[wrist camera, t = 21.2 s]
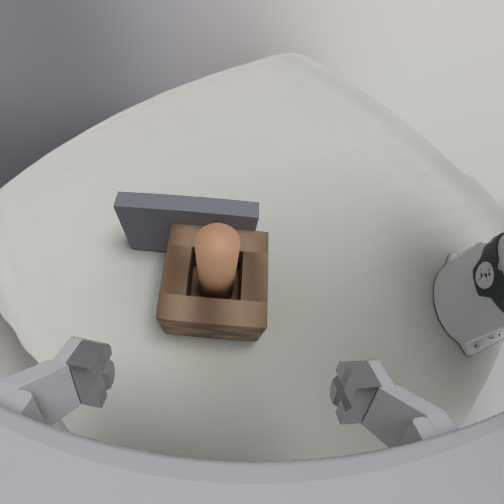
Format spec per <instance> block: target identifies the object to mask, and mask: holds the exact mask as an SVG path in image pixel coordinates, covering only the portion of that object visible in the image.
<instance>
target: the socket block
mask: <svg viewBox="0 0 504 504" xmlns="http://www.w3.org/2000/svg"><path fill="white" fill-rule="evenodd" d="M202 227H204V226H195V225H183V224H172V225H171V230H170V236H169V241H168V246H167V252H166V257H165V263H164V269H163V275H162V281H161V287H160V294H159V301H158V308H157V315H156V319H157V320H158V322H159V323H160V325H161V326H162V328H163V329H164V331H165V332H166V333H170V334H179V335H188V336H198V337H209V338H221V339H234V340H250V341H257V340H258V339H259V338H260V336H261V335H262V334H263V332H264V331H265V330H266V328H267V292H268V232H261V231H250V230H240V229H235V231H236V232H237V233H238V235H239V237H240V250H239V256H238V262H237V269H236V275H235V282H234V288H233V294H232V296H231V298H230V299H218V298H207V297H202V296H201V294H200V289H199V281H198V272H197V263H196V254H195V244H194V241H195V237H196V234H197V233H198V231H199V230H200V229H201V228H202Z"/></svg>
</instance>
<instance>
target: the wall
mask: <svg viewBox="0 0 504 504" xmlns="http://www.w3.org/2000/svg"><path fill="white" fill-rule="evenodd" d="M114 209H115V211H116V213H117V216H118V218H119V220H120V223H121V225H122V227H123V230H124V232H125V234H126V237H127V239H128V241H129V243H130V245H131V248H132V249H141V250H152V251H162V252H167V246H168V241H169V236H170V230H171V225H172V224H183V225H195V226H206V225H208V224H211V223H223V224H227V225H229V226H231V227H232V228H233V229H240V230H250V231H255V230H256V226H257V222H258V218H259V203H257V202H248V201H238V200H227V199H216V198H205V197H192V196H179V195H165V194H150V193H132V192H118V194H117V197H116V200H115V203H114Z"/></svg>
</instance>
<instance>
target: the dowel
mask: <svg viewBox="0 0 504 504" xmlns="http://www.w3.org/2000/svg"><path fill="white" fill-rule="evenodd" d="M194 244H195V254H196V263H197V272H198V281H199V289H200V294H201V296H202V297H207V298H218V299H230V298H231V296H232V294H233V288H234V282H235V275H236V269H237V262H238V256H239V250H240V237H239V235H238V233H237V232H236V231H235V229H233V228H232V227H231V226H229V225H227V224H223V223H211V224H208V225H206V226H204V227H202V228H201V229H200V230H199V231H198V233H197V234H196V237H195V241H194Z"/></svg>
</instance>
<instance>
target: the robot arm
mask: <svg viewBox="0 0 504 504" xmlns="http://www.w3.org/2000/svg"><path fill="white" fill-rule="evenodd" d="M434 302H435V307H436V311H437V314H438V317H439V319H440V321H441V323H442V325H443V327H444V328H445V330H446V331H447V332H448V334H449V335H450V336H451V337H452V338H454V339H455V340H456V341H457V342H458V343H459V344H460V345H461V347H462V349H463V351H464V352H465V354H466V355H467V356H472V355H474V354H476V353H478V352H480V351H481V350H483V349H485V348H487V347H489V346H491V345H492V344H494V343H496V342H498V341H500V340H501V339H503V338H504V233H501V234H499V235H498V236H495V237H494V238H493V239H491V240H490V242H489V243H487V244H485V243H482V242H479V243H477V244H475V245H474V246H472V247H471V248H469V249H468V250H466V251H464V252H463V253H461V254H459V253H456V252H453V253H451V254H449V256H448V259H447V263H446V265H445V266H444V267H443V268H442V269H441V271H440V272H439V273H438V275H437V277H436V280H435V285H434ZM111 354H112V352H111V347H110V345H109V344H106V343H102V342H97V341H92V340H88V339H83V338H78V337H74V336H73V337H70V338H69V340H68V341H67V342H66V343H65V345H64V346H63V347H62V349H61V350H60V351H59V353H58V354H57V355H56V357H55V358H54V359H53V361H52V360H47V361H45V362H43V363H40V364H38V365H35V366H33V367H30V368H28V369H26V370H23V371H21V372H18V373H16V374H13V375H11V376H8V377H6V378H4V379H1V380H0V504H504V412H502V413H499V414H497V415H495V416H492V417H490V418H487V419H485V420H482V421H480V422H477V423H475V424H472V425H469V426H466V427H464V428H461V429H457V428H456V426H455V425H454V424H453V422H452V421H451V419H450V418H449V416H448V415H447V413H446V412H445V411H444V410H443V409H441V408H439V407H437V406H435V405H433V404H431V403H430V402H428V401H426V400H424V399H422V398H420V397H419V396H417V395H415V394H413V393H411V392H410V391H408V390H406V389H404V388H402V387H401V386H399V385H394V384H393V382H392V380H391V379H390V377H389V376H388V374H387V372H386V371H385V369H384V368H383V366H382V365H381V363H380V362H379V361H378V360H377V359H374V360H365V361H346V362H339V364H338V365H337V368H336V372H337V374H338V375H337V376H336V377H335V378H334V379H333V380H332V383H331V388H330V395H331V400H332V403H333V404H334V405H336V406H337V410H336V414H337V417H338V419H339V422H340V424H353V423H361V424H362V425H363V426H365V427H366V428H367V429H368V430H369V431H370V432H372V433H373V434H374V435H375V436H376V437H377V438H379V439H380V440H381V441H382V442H383V443H385V444H386V445H387V446H388V447H389V448H387V449H382V450H377V451H372V452H366V453H360V454H353V455H346V456H339V457H330V458H320V459H308V460H292V461H228V460H212V459H200V458H190V457H181V456H174V455H166V454H160V453H154V452H148V451H142V450H137V449H132V448H127V447H123V446H118V445H114V444H110V443H106V442H102V441H98V440H94V439H90V438H87V437H83V436H80V435H77V434H73V433H70V432H67V431H64V430H61V429H58V428H55V427H52V426H51V425H53V424H54V423H55V422H57V421H58V420H60V419H61V418H63V417H64V416H65V415H67V414H68V413H70V412H71V411H72V410H74V409H75V408H77V407H78V406H80V405H81V404H85V405H89V406H94V407H98V408H102V407H103V404H104V402H105V400H106V398H107V392H106V390H108V389H109V388H111V386H112V384H113V381H114V376H115V369H114V363H113V362H112V361H111V360H110V356H111ZM80 403H81V404H80Z"/></svg>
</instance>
